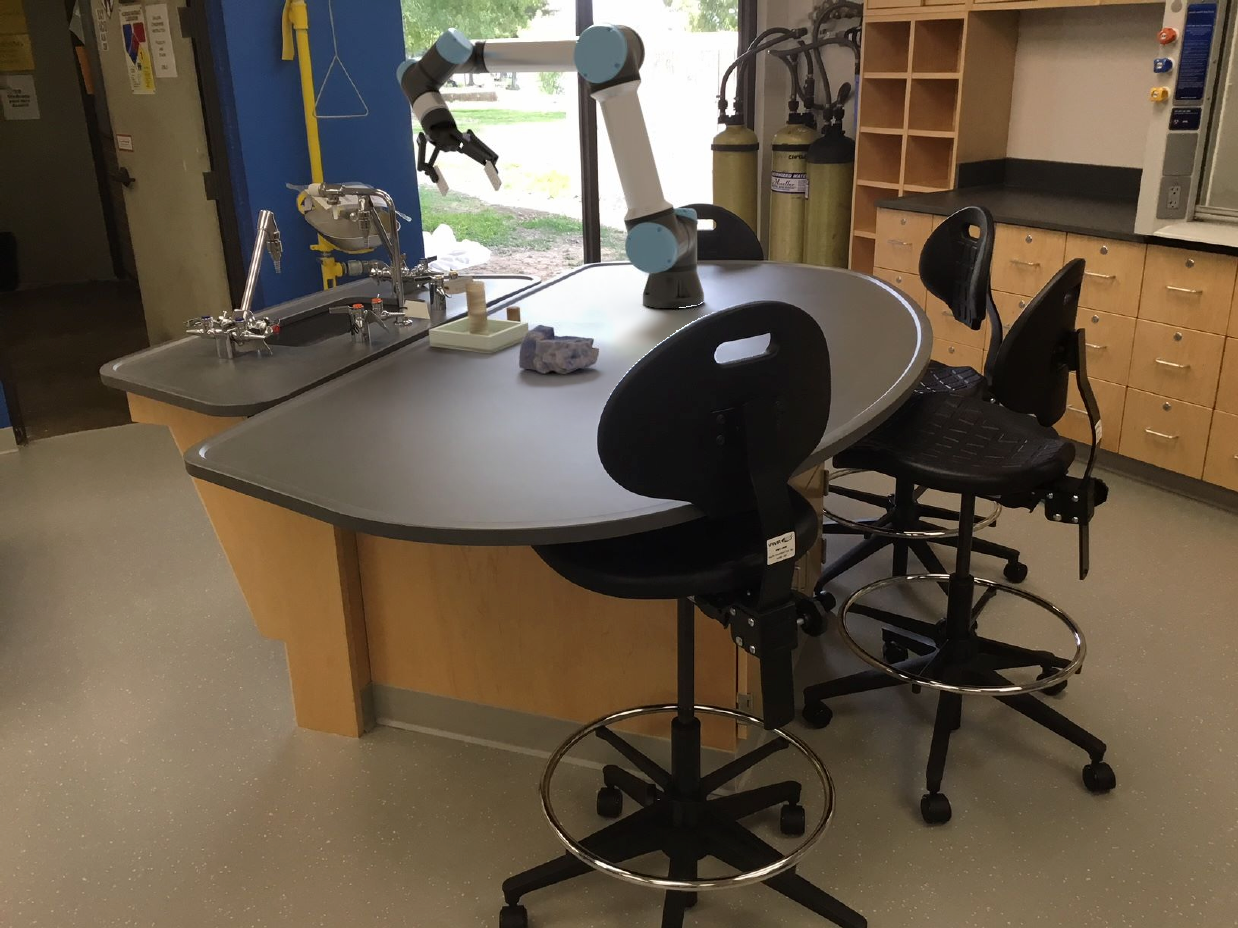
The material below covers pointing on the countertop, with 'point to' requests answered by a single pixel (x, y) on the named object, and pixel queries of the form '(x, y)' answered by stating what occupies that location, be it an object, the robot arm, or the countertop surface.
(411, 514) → the countertop surface
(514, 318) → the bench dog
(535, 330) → the mineral
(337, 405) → the countertop surface
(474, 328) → the dowel
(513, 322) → the tray
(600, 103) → the robot arm
